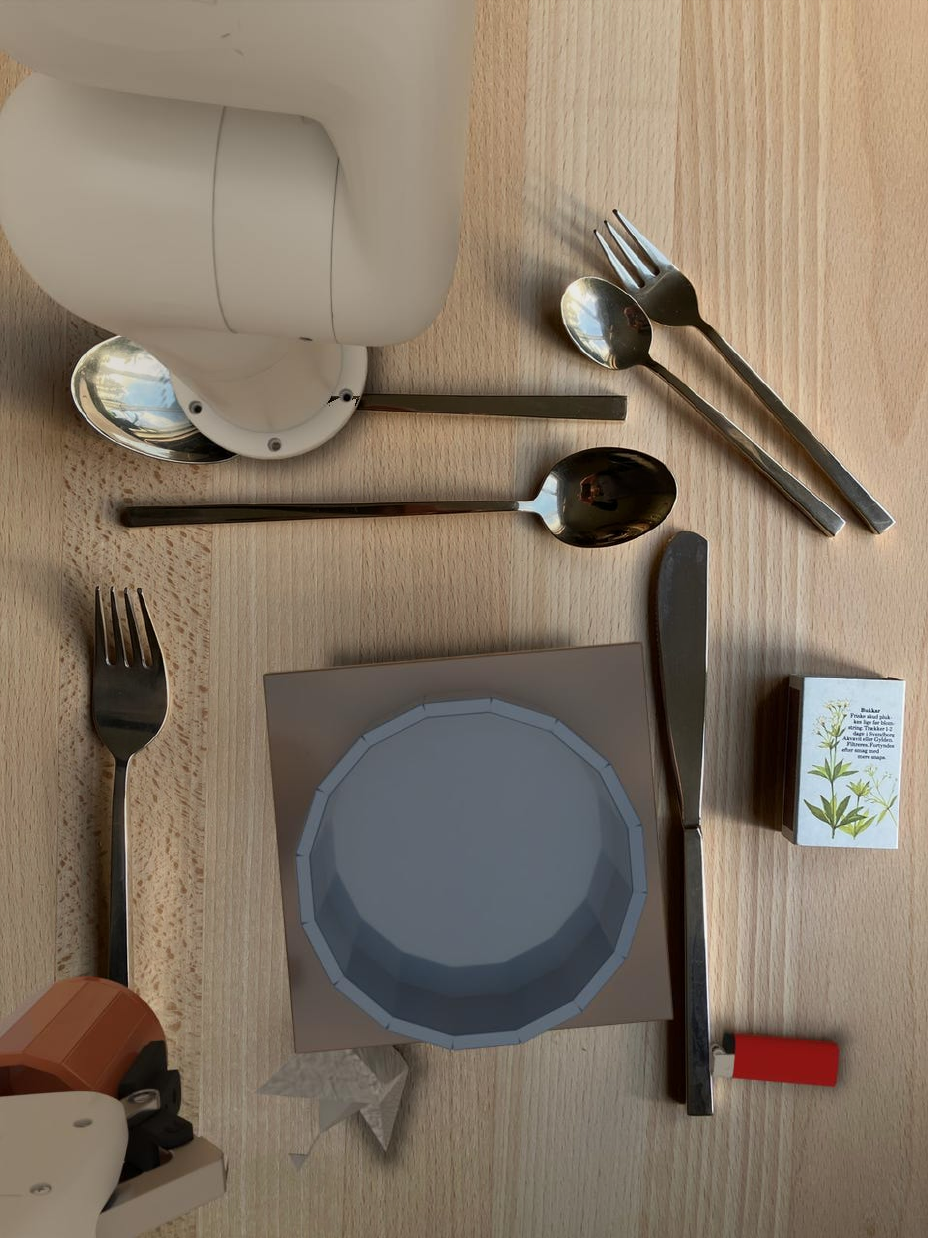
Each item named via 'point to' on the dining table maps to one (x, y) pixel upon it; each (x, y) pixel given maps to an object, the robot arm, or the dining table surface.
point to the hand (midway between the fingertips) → (61, 1087)
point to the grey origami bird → (345, 1087)
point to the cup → (75, 1038)
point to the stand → (358, 694)
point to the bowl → (471, 871)
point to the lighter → (775, 1059)
